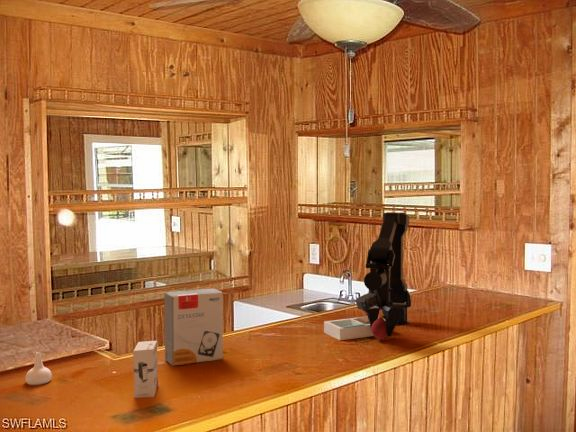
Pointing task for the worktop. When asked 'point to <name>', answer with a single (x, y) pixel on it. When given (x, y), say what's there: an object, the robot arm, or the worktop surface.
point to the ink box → (145, 369)
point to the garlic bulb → (38, 373)
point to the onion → (379, 328)
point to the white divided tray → (348, 328)
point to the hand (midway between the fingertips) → (380, 333)
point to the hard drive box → (193, 326)
